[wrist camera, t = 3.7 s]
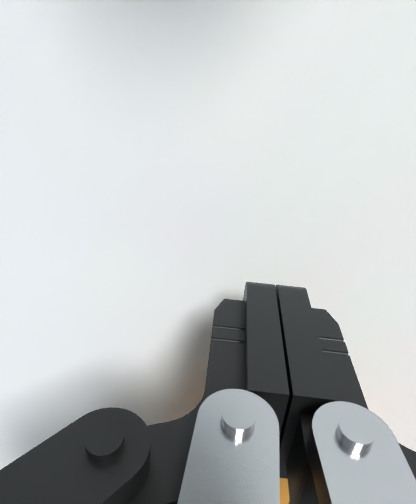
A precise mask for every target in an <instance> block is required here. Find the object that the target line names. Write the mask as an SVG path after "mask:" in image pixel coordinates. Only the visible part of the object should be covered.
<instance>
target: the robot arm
mask: <svg viewBox="0 0 416 504" xmlns="http://www.w3.org/2000/svg"><path fill="white" fill-rule="evenodd" d="M343 340H344V339H343V336H342V333H341V330H340V327H339V325H338V323H337V322H336V321H335V320H334V319H333V318H332V316H331V315H330V314H329V313H328V312H327V311H326V310H324V309H315V308H311V305H310V302H309V298H308V294H307V290H306V288H302V287H292V286H283V285H276V286H275V285H272V284H263V283H253V282H246V285H245V291H244V298H243V301H239V300H230V299H224V300H223V301H222V302H221V303H220V305H219V306H218V307H217V308H216V309H215V311H214V319H213V328H212V336H211V344H210V353H209V361H208V370H207V378H206V386H205V392H204V396H203V398H202V400H201V402H200V403H199V405H198V406H197V407H196V408H195V409H194V410H193V411H191V412H190V413H189V414H187V415H186V416H184V417H182V418H179V419H177V420H174V421H170V422H165V423H160V424H154V425H149V426H146V424H145V423H144V421H143V420H142V419H141V418H140V417H139V416H137V415H136V414H135V413H133V412H131V411H128V410H125V409H121V408H103V409H99V410H95V411H93V412H90V413H88V414H86V415H84V416H82V417H81V418H79V419H78V420H76V421H75V422H73V423H71V424H70V425H68V426H67V427H65V428H64V429H62V430H61V431H59V432H58V433H56V434H55V435H53V436H52V437H50V438H49V439H47V440H45V441H44V442H42V443H41V444H39V445H38V446H36V447H35V448H33V449H32V450H30V451H29V452H27V453H26V454H24V455H23V456H21V457H19V458H18V459H16V460H15V461H13V462H12V463H10V464H9V465H7V466H6V467H4V468H3V469H1V470H0V504H280V478H286V479H288V488H289V502H288V504H416V452H415V451H412V450H410V449H408V448H406V447H404V446H403V445H401V444H399V443H398V442H397V440H396V437H395V436H394V434H393V432H392V431H391V429H390V428H389V427H388V425H387V424H386V423H385V422H384V421H383V420H382V419H381V418H380V417H378V416H377V415H376V414H374V413H373V412H371V411H370V410H368V407H367V404H366V402H365V399H364V396H363V393H362V390H361V387H360V384H359V382H358V379H357V376H356V373H355V370H354V367H353V364H352V362H351V359H350V356H348V350H347V347H346V345H345V342H343Z"/></svg>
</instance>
